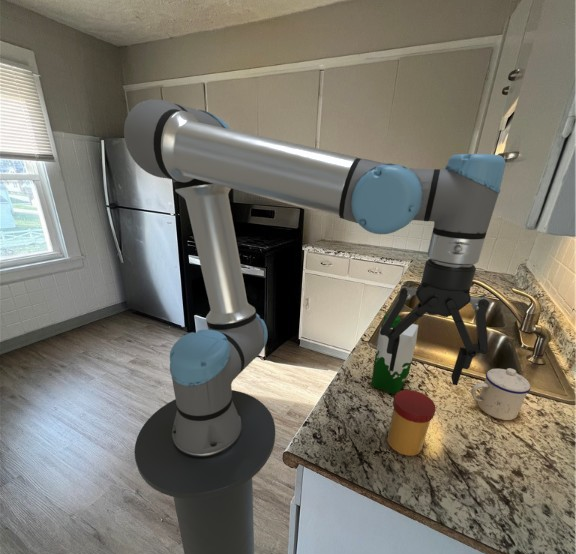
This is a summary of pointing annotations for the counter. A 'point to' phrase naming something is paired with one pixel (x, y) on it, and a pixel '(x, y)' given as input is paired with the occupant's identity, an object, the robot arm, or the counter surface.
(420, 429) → the jam jar
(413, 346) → the milk carton
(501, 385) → the teacup with lid
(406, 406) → the jam lid
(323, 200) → the robot arm
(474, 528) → the counter surface
